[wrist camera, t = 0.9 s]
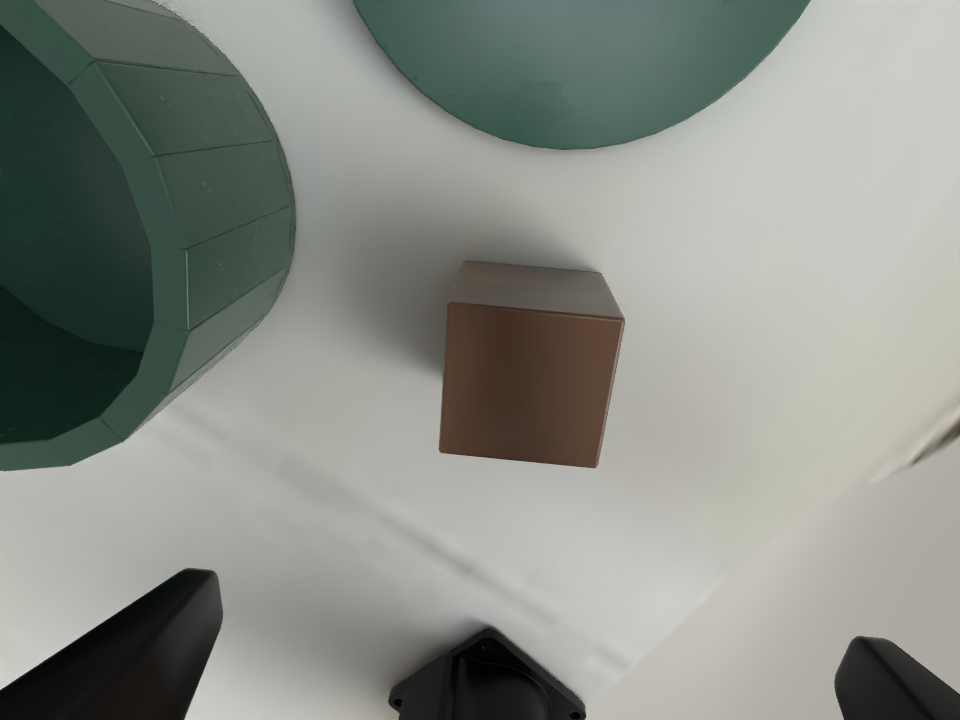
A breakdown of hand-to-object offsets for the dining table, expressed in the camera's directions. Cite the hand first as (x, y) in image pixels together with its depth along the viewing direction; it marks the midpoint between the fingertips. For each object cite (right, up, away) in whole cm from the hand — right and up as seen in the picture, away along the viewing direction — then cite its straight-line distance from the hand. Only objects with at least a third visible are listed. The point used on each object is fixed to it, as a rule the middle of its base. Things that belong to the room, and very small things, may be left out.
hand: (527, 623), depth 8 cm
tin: (-12, +9, +10) cm, 18 cm away
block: (+1, +5, +11) cm, 12 cm away
